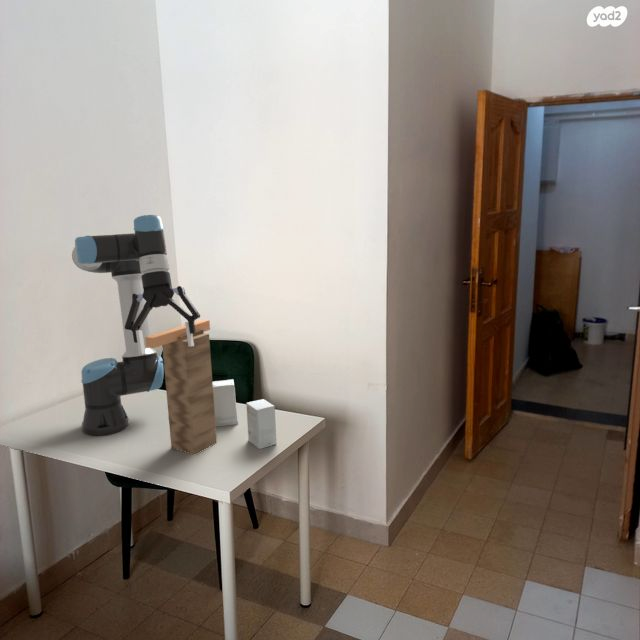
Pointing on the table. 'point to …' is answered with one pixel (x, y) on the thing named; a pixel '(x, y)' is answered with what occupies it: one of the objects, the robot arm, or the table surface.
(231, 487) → the table surface
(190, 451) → the post
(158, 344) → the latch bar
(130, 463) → the table surface
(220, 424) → the skincare box
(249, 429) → the small box
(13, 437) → the table surface
